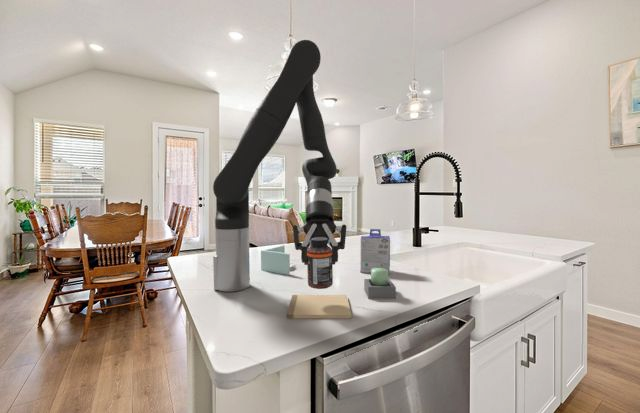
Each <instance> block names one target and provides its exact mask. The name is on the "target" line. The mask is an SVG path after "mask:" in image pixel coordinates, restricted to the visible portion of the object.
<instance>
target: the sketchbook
mask: <svg viewBox="0 0 640 413" xmlns="http://www.w3.org/2000/svg"><path fill="white" fill-rule="evenodd" d="M289 301H290V302H289V305H288V310H287V313H286V319H352V311H351V307H350V304H349V300H348V294H292V295H291V299H290V300H289Z"/></svg>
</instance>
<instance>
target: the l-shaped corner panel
mask: <svg viewBox="0 0 640 413" xmlns="http://www.w3.org/2000/svg"><path fill="white" fill-rule="evenodd" d="M285 248H286V246H285V245H284V244H283V245H282V244H281V245H278V246H273V247H269V248H265V249H262V250H260V269H261V271H265V272H270V273H275V274H281V275H287V276H289V275H291V273H290V272H291V271H294V270H295V264H294V263H293V262H292V263H291V262H290V259H291V258H290V256H291V255H290V253H288V252H287V253H286V252H285V251H286V249H285Z"/></svg>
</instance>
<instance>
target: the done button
mask: <svg viewBox="0 0 640 413" xmlns="http://www.w3.org/2000/svg"><path fill="white" fill-rule="evenodd" d="M388 275H389V274H388V270H387V269H385V268H372V269H371V273H370V279H371V283H372V284H374V285H387V284H388V279H389V276H388Z"/></svg>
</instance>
